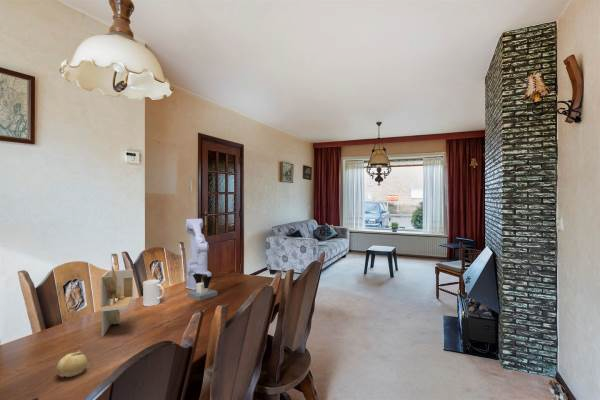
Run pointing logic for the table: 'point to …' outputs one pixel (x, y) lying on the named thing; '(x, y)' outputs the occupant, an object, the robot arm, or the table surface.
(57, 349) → the table surface
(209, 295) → the plate
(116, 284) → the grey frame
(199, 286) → the block
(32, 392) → the table surface
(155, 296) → the mug
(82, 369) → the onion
